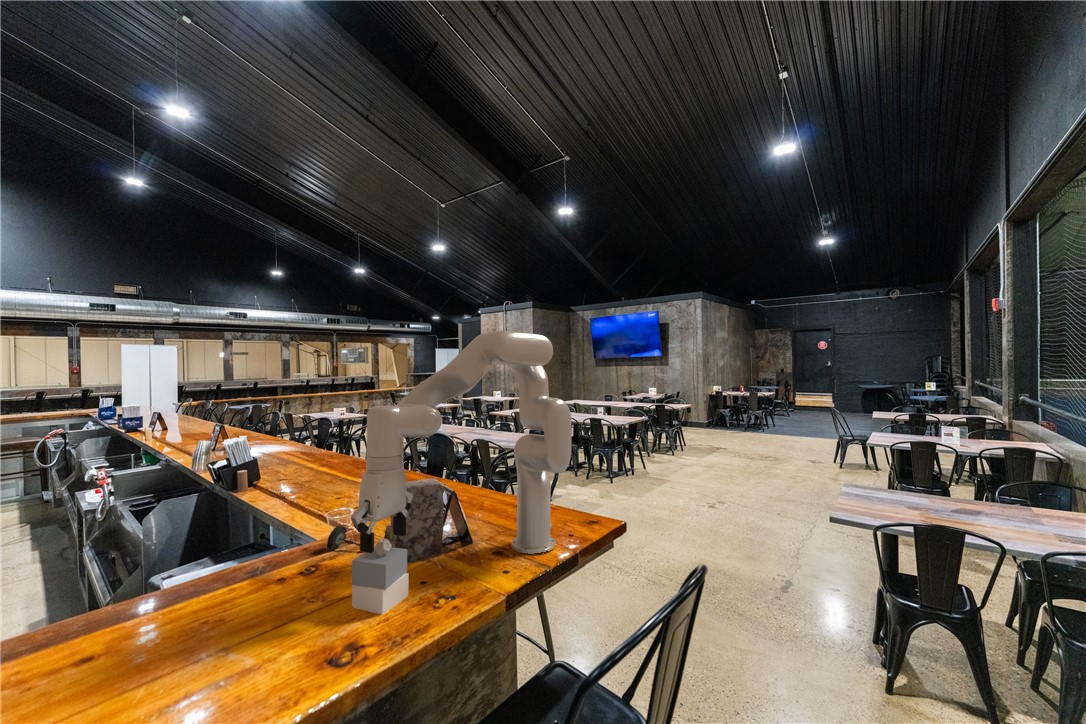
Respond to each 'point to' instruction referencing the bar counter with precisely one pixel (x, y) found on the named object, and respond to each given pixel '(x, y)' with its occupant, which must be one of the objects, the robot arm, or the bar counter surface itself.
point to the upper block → (379, 568)
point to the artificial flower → (339, 536)
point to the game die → (382, 547)
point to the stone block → (422, 521)
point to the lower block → (380, 596)
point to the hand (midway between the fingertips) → (384, 543)
